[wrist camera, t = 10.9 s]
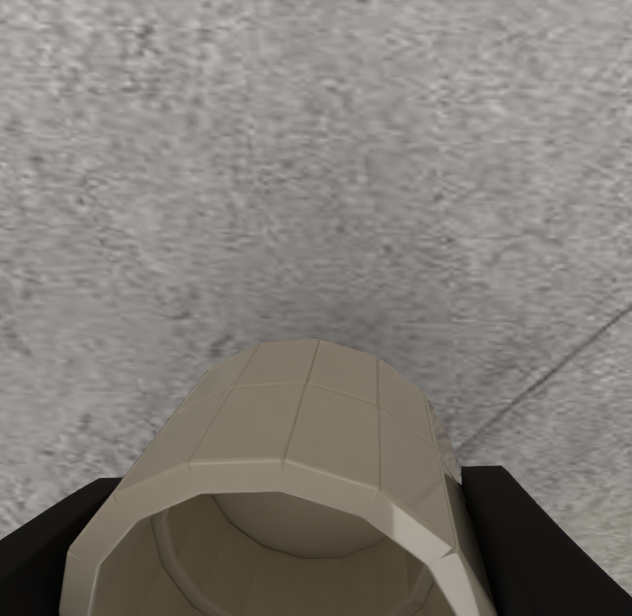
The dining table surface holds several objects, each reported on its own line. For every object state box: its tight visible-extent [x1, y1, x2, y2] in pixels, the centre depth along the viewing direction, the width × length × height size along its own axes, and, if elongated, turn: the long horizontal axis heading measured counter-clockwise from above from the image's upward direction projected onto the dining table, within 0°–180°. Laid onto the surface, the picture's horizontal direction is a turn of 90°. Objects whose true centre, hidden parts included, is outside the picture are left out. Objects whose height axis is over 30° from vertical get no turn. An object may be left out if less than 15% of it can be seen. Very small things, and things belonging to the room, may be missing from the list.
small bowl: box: [58, 338, 498, 616], centre depth 8 cm, size 6×6×4 cm
